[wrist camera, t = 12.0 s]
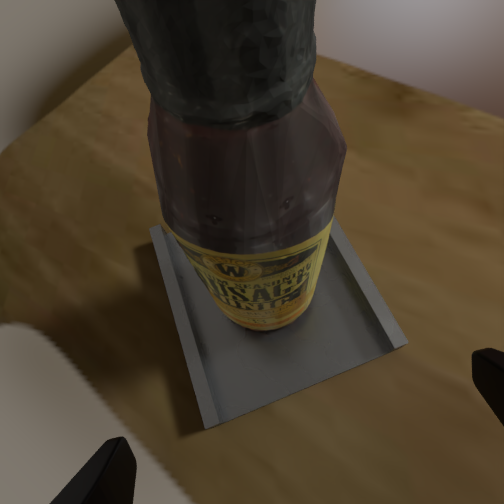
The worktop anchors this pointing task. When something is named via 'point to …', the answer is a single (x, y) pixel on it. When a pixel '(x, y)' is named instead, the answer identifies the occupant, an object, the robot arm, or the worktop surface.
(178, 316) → the floor track
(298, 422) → the worktop surface
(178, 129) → the sauce bottle
